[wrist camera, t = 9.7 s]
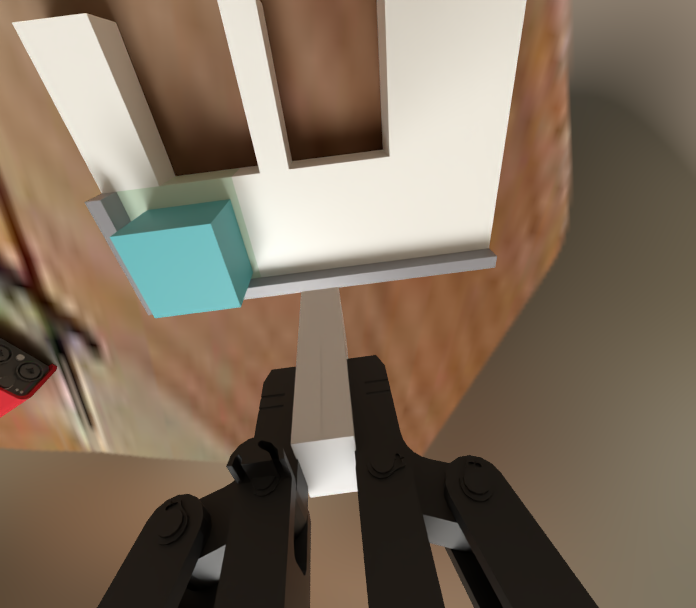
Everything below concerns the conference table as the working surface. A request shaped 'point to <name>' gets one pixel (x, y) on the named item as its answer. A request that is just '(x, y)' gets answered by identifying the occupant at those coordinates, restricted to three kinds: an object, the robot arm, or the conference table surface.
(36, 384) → the red device housing
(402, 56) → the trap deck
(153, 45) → the conference table surface
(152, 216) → the teal block
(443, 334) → the conference table surface
